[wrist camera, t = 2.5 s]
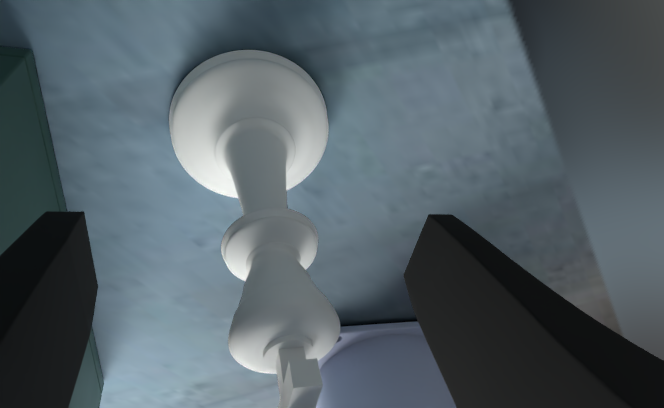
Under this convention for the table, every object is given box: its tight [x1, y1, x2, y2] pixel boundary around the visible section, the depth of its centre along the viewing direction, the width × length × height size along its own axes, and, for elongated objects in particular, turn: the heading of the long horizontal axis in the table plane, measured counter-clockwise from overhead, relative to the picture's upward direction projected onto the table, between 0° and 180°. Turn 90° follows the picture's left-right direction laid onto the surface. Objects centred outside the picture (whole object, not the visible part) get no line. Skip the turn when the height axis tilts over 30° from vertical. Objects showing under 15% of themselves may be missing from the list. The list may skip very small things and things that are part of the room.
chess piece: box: [169, 50, 340, 408], centre depth 10 cm, size 5×5×10 cm
